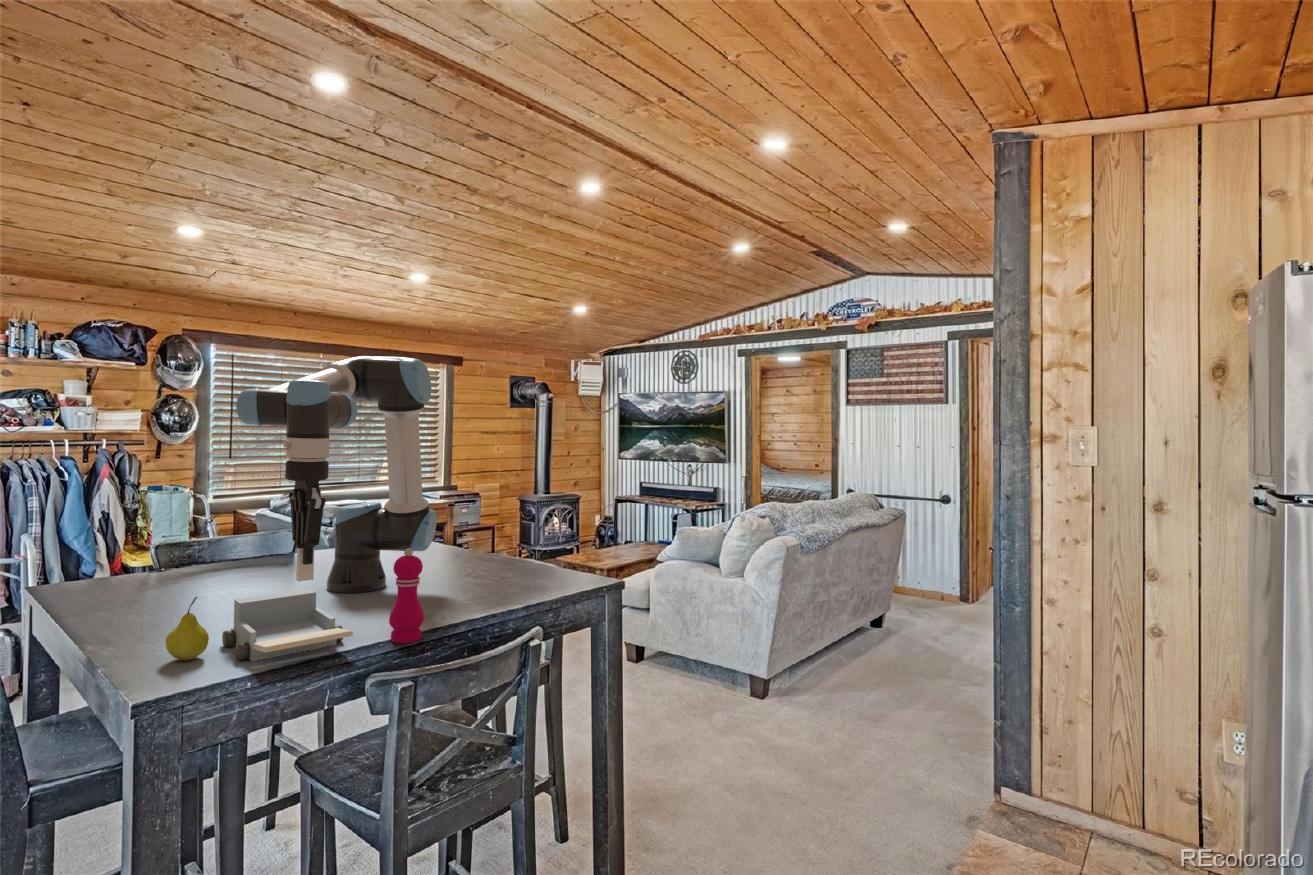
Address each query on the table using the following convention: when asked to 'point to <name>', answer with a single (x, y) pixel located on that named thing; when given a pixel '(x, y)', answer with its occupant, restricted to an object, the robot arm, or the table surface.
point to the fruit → (187, 638)
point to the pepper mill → (407, 600)
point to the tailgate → (301, 639)
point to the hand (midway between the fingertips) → (304, 579)
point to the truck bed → (284, 632)
